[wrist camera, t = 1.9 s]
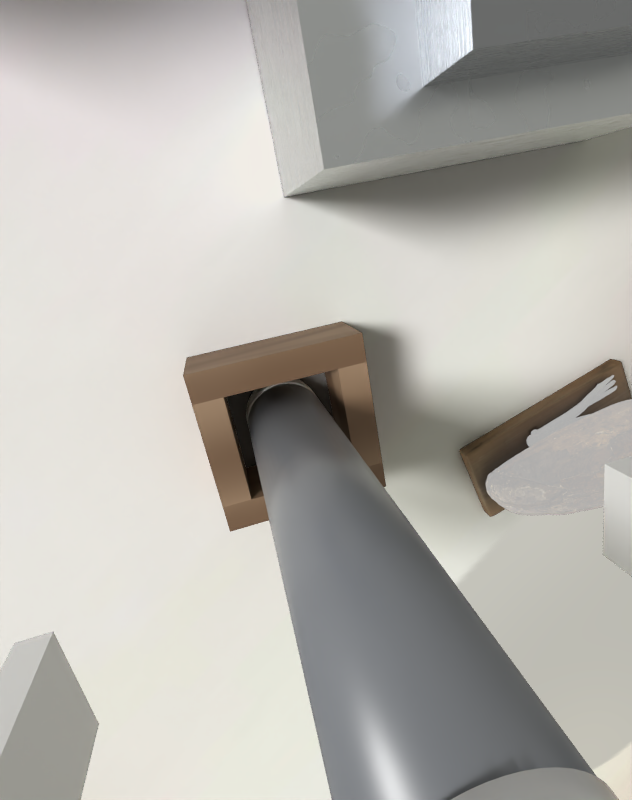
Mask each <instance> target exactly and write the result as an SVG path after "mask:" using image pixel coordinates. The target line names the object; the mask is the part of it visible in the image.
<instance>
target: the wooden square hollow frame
mask: <svg viewBox="0 0 632 800" xmlns="http://www.w3.org/2000/svg"><path fill="white" fill-rule="evenodd" d="M324 372H325V377H326V382H327V387H328V393H329V398H330V403H331V409H332V414H333V419H334V421H335V422H336V423H337V425H338V426H339V427H340V429H341V430H342V431H343V433H344V434H345V435H346V437H347V438H348V440H349V441H350V442H351V444H352V445H353V446H354V448H355V449H356V450H357V452H358V453H359V454H360V456H361V457H362V459H363V460H364V461H365V463H366V464H367V465H368V467H369V468H370V469H371V471H372V472H373V473H374V475H375V476H376V478H377V479H378V480H379V482H380V483H381V484H382V486H383V487H385V486H386V483H385V477H384V470H383V464H382V457H381V451H380V445H379V438H378V432H377V425H376V419H375V412H374V406H373V399H372V393H371V387H370V380H369V374H368V367H367V361H366V354H365V348H364V341H363V335H362V332H360V331H358V330H356V329H354V328H352V327H351V326H349V325H347V324H345V323H343V322H338V323H334V324H329V325H325V326H321V327H317V328H312V329H308V330H304V331H299V332H295V333H291V334H286V335H282V336H278V337H274V338H269V339H265V340H261V341H256V342H252V343H248V344H244V345H239V346H235V347H231V348H226V349H222V350H218V351H214V352H209V353H205V354H201V355H196V356H192V357H188V358H187V359H186V364H185V369H184V374H183V377H184V380H185V383H186V386H187V390H188V393H189V396H190V400H191V403H192V406H193V410H194V413H195V416H196V420H197V423H198V426H199V430H200V433H201V436H202V439H203V443H204V446H205V449H206V453H207V456H208V459H209V463H210V466H211V469H212V473H213V476H214V479H215V483H216V486H217V489H218V492H219V496H220V499H221V502H222V506H223V509H224V512H225V516H226V519H227V522H228V526H229V529H230V531H234V530H237V529H240V528H244V527H247V526H251V525H254V524H258V523H261V522H264V521H268V520H269V517H268V512H267V508H266V503H265V499H264V494H263V490H262V485H261V481H260V477H259V472H258V468H257V465H255V466H251V467H247V468H246V466H245V462H244V458H243V455H242V451H241V447H240V444H239V440H238V436H237V433H236V429H235V425H234V422H233V418H232V414H231V410H230V407H229V403H228V399H227V396H231V395H235V394H239V393H243V392H247V391H251V390H255V389H259V388H263V387H267V386H272V385H276V384H280V383H284V382H288V381H292V380H296V379H300V378H304V377H308V376H312V375H316V374H320V373H324Z"/></svg>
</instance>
